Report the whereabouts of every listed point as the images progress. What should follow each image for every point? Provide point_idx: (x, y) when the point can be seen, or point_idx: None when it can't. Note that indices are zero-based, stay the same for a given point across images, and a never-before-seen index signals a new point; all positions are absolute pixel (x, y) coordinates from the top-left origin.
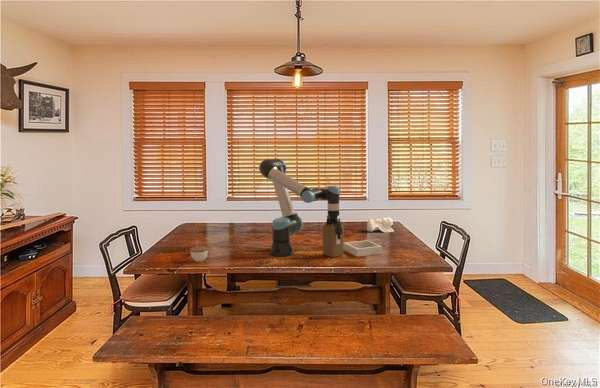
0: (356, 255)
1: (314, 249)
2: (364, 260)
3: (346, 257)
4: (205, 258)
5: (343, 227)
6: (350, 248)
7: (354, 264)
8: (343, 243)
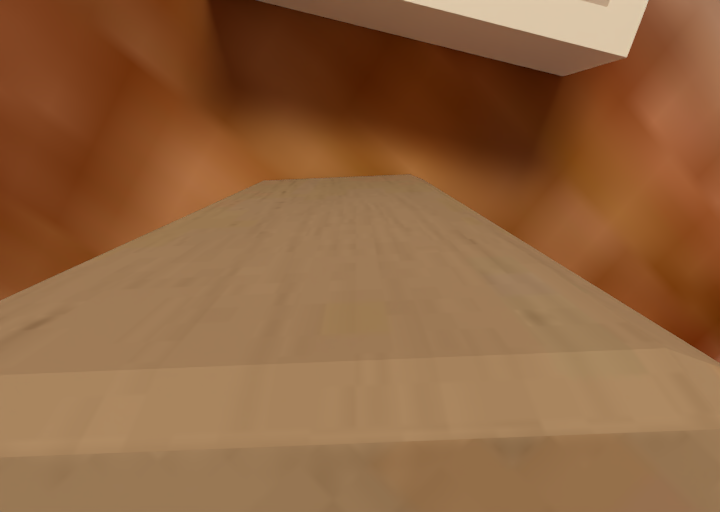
0: (552, 70)
1: (36, 279)
2: (716, 115)
3: (497, 200)
4: None
5: (709, 373)
6: (411, 16)
7: (712, 296)
8: (454, 199)
